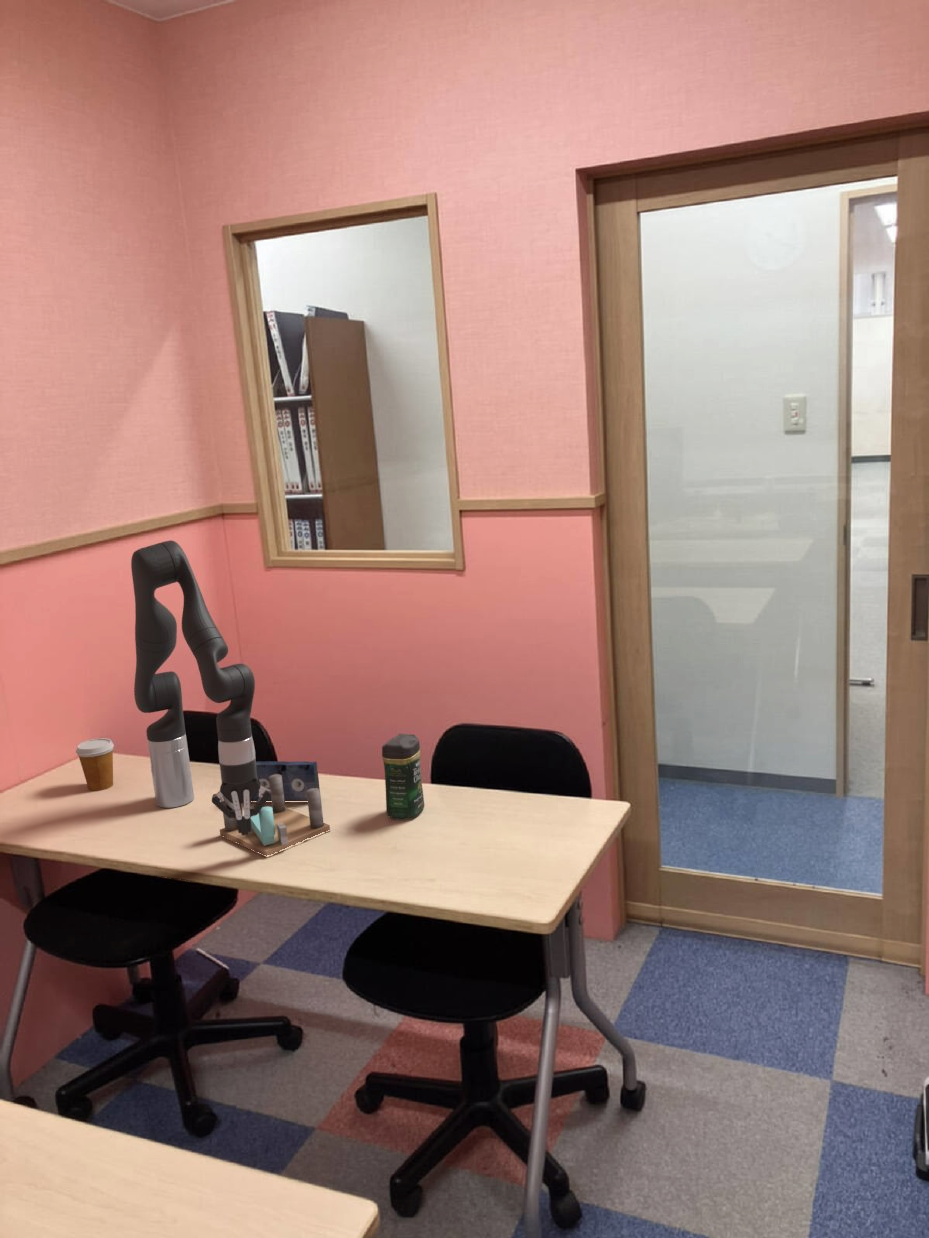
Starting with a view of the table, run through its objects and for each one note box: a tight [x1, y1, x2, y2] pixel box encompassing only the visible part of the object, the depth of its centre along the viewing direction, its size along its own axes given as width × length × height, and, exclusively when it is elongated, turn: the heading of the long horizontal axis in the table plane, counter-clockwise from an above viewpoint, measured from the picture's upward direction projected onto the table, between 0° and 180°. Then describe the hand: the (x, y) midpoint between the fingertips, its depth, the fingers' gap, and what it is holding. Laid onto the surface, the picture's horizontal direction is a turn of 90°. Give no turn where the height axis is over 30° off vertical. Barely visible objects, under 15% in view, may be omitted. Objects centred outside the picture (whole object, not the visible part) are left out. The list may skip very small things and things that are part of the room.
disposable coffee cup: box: [75, 737, 115, 792], centre depth 266 cm, size 10×10×12 cm
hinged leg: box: [251, 806, 275, 846], centre depth 224 cm, size 16×3×8 cm, turn 26°
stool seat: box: [219, 774, 331, 856], centre depth 228 cm, size 20×17×10 cm
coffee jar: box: [381, 733, 425, 821], centre depth 234 cm, size 10×8×19 cm
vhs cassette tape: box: [252, 760, 321, 801], centre depth 248 cm, size 18×3×10 cm, turn 78°
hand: (245, 833), depth 217 cm, fingers closed
